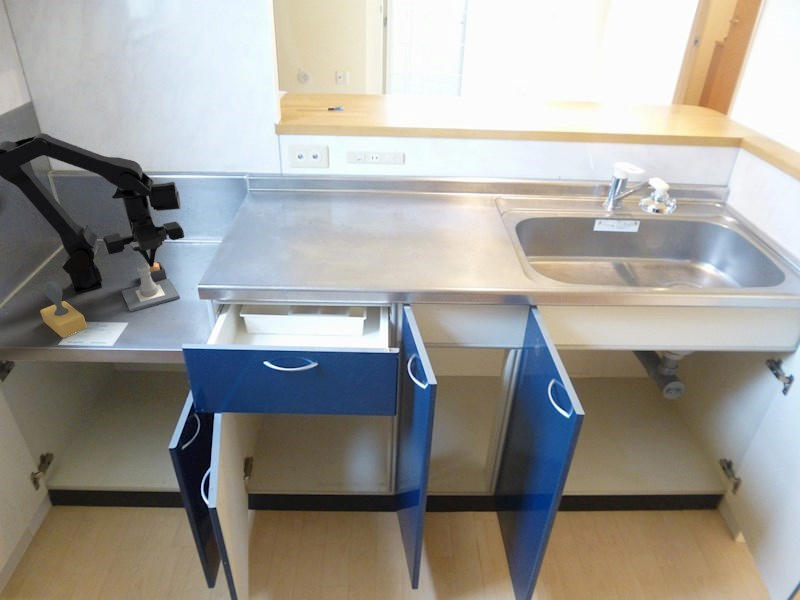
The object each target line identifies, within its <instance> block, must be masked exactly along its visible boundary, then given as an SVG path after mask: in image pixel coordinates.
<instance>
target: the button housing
mask: <svg viewBox="0 0 800 600" xmlns="http://www.w3.org/2000/svg"><path fill="white" fill-rule="evenodd" d="M155 263H158V264H159V267H160V270H158V271H154V272H151V274H150V275H151V278H152V280H153V282H158V281H162V280H165V279H168V277H167V273H166V270H165V269H166V268H164V266H163V264H162V262H161V261H157V262H155Z"/></svg>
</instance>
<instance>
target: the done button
mask: <svg viewBox="0 0 800 600" xmlns="http://www.w3.org/2000/svg"><path fill="white" fill-rule="evenodd" d="M147 264H148V263H147ZM148 266H149V264H148ZM158 270H160V267H159V264H158V263H156V262H154V266H152V267H150V270H149V272H154V271H158Z"/></svg>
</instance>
